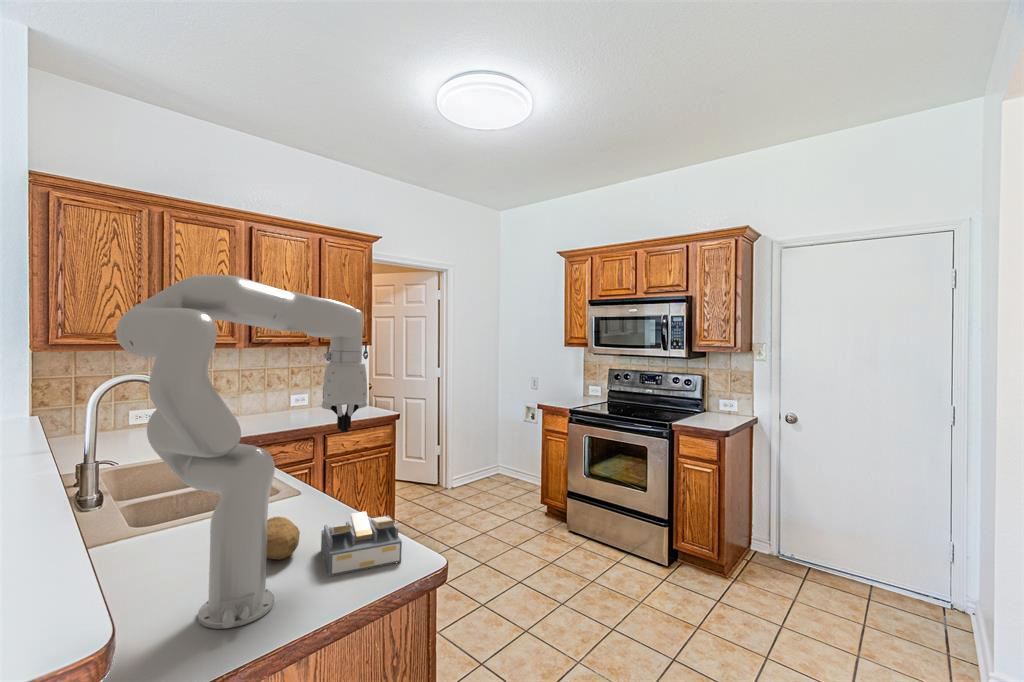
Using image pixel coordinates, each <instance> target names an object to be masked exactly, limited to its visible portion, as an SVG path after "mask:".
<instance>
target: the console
mask: <svg viewBox="0 0 1024 682" xmlns="http://www.w3.org/2000/svg"><path fill="white" fill-rule="evenodd" d="M386 517H388V518H390V519H392V518H391V516H390V515H389V514H388V515H386ZM368 520H369V523H370V527H371V530H372V539H367V540H361V541H356V539H355V533H354V530H353V526H352V525H351V523H350V522H349V521H345V525H351V531H349V532H343V533H337V534H330V531H329V526H328V525H327V524H324V525H323V529H322V530H321V543H320V545H321V546H320V551H322V552H321V555H322V554H323V555H322V557H324V558H323V561H324V564H325V568H326V570H328V571H327V574H328V573H329V574H328V577H333V576H339V574H340V575H344V574H348V573H349V572H350V573H353V572H354V571H355V572H359V570H360V571H364V570H363V569H365V570H369V569H368V568H370V569H374V568H373V567H375V568H378V567H377V566H380V567H384V566H383V565H385V566H388V565H387V564H390V565H393V564H392V563H395V564H397V563H396V562H400V563H402V552H403V551H402V550H403V549H402V546H403V544H402V543H403V541H402V539H401V538H400V537H399V527H398V525H397V524H396V523H395V522H394V527H389V528H383V529H377V528H376V527H375V526H374V525H373V524H372V522H371V518H369V517H368ZM381 565H382V566H381ZM355 572H354V573H355Z"/></svg>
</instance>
